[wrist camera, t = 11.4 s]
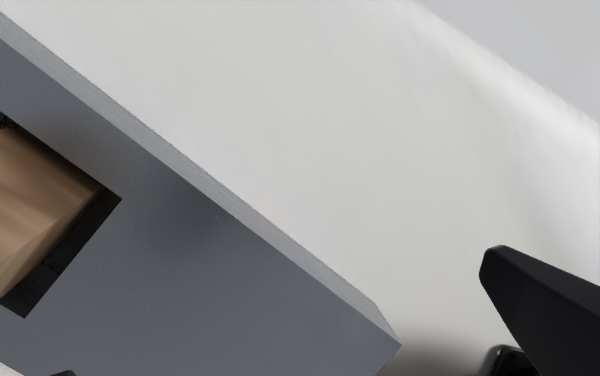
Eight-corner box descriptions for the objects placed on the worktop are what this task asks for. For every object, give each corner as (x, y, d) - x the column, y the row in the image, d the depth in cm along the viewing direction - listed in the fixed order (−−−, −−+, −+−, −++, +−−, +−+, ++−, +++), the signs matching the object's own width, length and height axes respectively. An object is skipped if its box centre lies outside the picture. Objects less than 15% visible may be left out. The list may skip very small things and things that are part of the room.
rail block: (374, 303, 23) (402, 345, 20) (252, 440, 24) (256, 507, 20) (-13, 2, 18) (-80, -22, 14) (-155, 190, 19) (-256, 216, 15)
